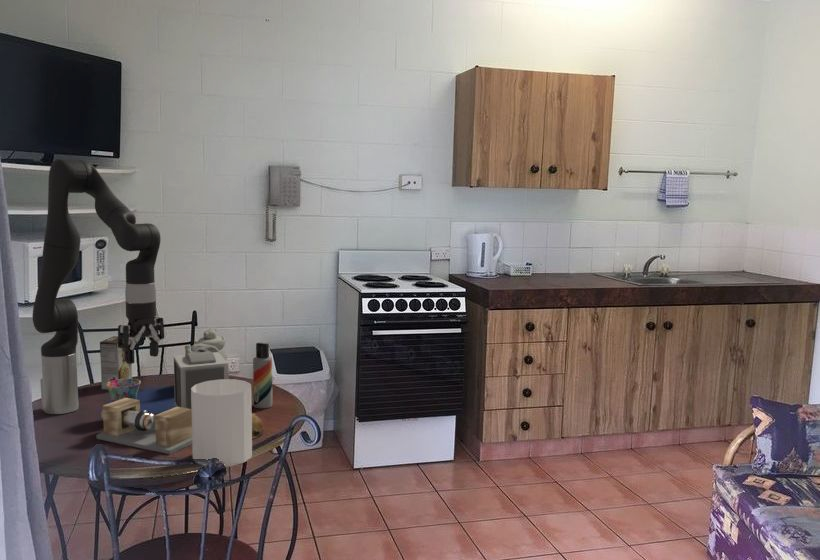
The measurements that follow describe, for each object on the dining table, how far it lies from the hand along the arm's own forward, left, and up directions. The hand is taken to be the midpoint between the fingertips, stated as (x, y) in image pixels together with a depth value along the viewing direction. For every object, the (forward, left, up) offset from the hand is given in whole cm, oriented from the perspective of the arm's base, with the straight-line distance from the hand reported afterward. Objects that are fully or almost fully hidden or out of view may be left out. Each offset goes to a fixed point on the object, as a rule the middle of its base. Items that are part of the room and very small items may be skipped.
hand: (142, 359), depth 185 cm
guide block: (-6, -2, -20) cm, 21 cm away
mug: (-16, +9, -21) cm, 28 cm away
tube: (-4, -2, -19) cm, 19 cm away
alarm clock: (+1, +21, -21) cm, 30 cm away
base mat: (+3, -2, -21) cm, 21 cm away
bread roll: (+23, +12, -21) cm, 34 cm away
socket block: (+12, -2, -21) cm, 24 cm away
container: (+28, -3, -21) cm, 35 cm away
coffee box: (-43, +31, -21) cm, 57 cm away
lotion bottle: (+13, +35, -21) cm, 43 cm away
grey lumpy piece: (-18, +45, -21) cm, 53 cm away
